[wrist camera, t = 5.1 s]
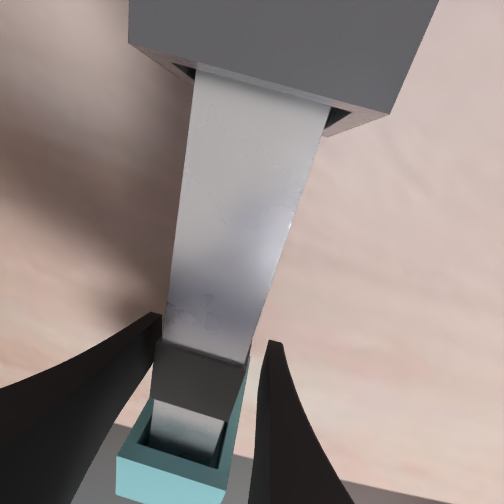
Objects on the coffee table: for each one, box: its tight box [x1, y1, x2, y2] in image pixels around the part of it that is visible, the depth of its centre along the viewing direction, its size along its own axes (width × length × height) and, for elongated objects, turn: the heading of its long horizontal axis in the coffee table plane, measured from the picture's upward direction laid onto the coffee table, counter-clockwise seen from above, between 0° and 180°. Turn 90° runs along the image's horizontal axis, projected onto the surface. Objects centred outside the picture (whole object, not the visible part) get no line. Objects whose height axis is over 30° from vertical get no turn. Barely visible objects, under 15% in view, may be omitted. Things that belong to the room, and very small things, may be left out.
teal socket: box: [116, 357, 250, 504], centre depth 14 cm, size 5×4×7 cm
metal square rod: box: [148, 69, 331, 467], centre depth 9 cm, size 3×20×3 cm, turn 165°
